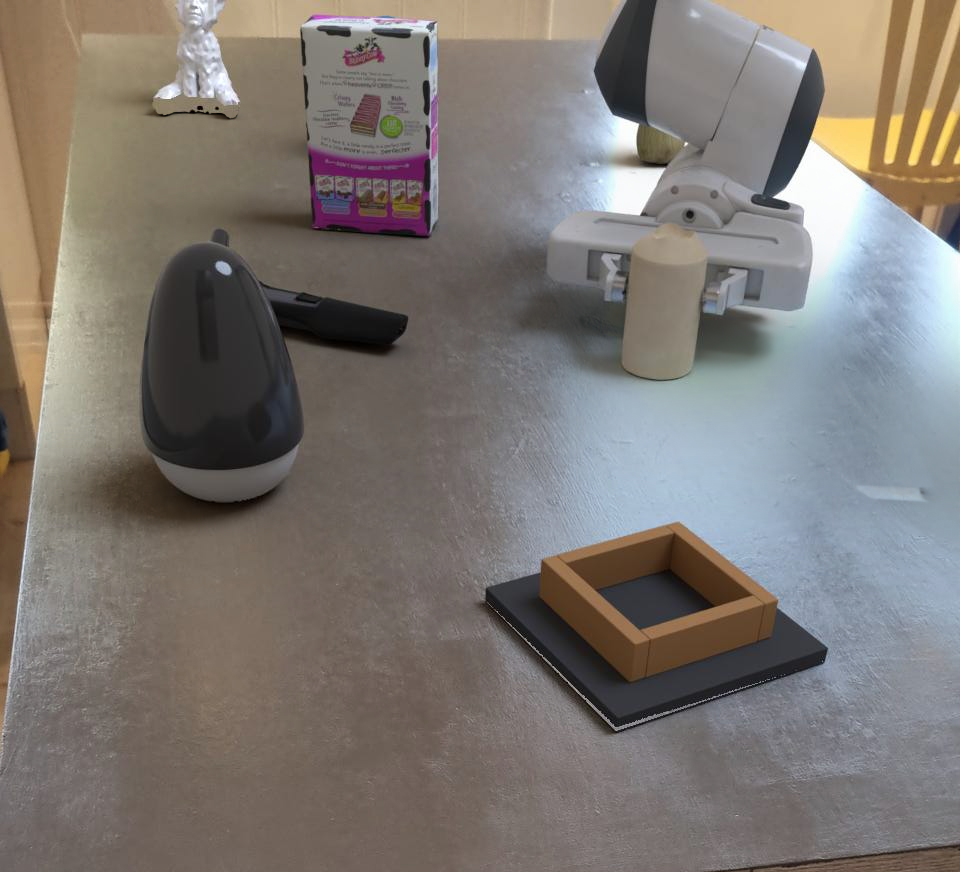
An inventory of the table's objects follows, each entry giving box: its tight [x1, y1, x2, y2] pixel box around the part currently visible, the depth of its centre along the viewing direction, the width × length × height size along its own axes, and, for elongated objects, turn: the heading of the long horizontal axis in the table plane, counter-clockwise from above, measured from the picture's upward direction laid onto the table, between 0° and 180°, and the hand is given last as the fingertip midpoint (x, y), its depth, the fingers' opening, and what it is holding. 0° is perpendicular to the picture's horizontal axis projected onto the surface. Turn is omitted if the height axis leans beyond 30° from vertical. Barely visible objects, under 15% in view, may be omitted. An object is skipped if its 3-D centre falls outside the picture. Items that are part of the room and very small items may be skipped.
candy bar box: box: [299, 14, 440, 237], centre depth 120 cm, size 11×5×16 cm, turn 82°
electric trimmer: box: [259, 280, 409, 345], centre depth 107 cm, size 4×16×3 cm, turn 66°
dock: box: [484, 521, 829, 733], centre depth 77 cm, size 14×14×4 cm
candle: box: [621, 223, 708, 381], centre depth 102 cm, size 6×6×10 cm
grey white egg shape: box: [139, 227, 305, 503], centre depth 85 cm, size 10×10×15 cm
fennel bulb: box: [635, 124, 686, 165], centre depth 138 cm, size 6×5×12 cm
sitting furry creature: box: [153, 0, 241, 106], centre depth 148 cm, size 10×9×12 cm
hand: (663, 297), depth 101 cm, fingers open, 6 cm apart
